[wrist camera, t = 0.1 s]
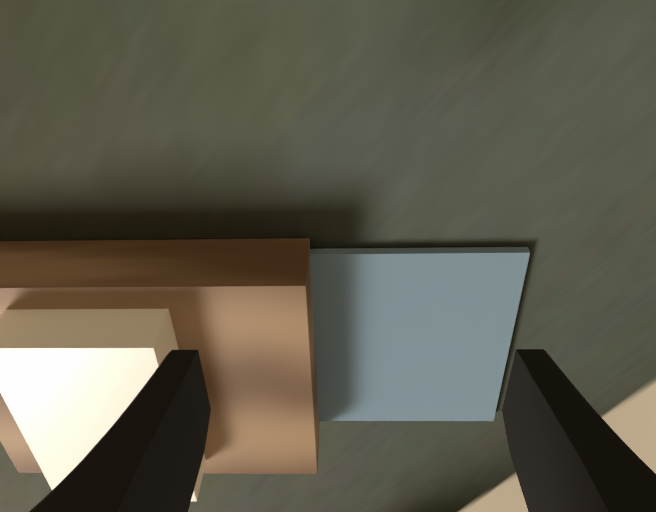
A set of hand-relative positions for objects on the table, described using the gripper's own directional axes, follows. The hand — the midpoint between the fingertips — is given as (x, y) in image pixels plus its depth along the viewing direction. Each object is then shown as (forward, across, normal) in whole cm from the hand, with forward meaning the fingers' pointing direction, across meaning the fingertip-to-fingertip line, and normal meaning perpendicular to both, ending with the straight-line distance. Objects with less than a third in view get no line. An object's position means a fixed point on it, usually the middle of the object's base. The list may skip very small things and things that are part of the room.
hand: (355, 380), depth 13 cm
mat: (+10, -3, +8) cm, 13 cm away
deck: (+9, +9, +8) cm, 15 cm away
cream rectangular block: (+6, +10, +8) cm, 14 cm away
